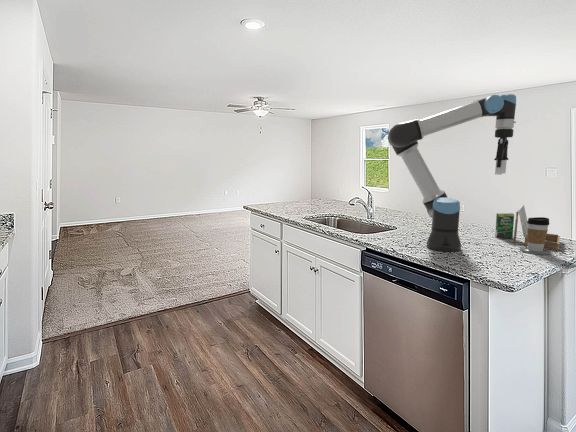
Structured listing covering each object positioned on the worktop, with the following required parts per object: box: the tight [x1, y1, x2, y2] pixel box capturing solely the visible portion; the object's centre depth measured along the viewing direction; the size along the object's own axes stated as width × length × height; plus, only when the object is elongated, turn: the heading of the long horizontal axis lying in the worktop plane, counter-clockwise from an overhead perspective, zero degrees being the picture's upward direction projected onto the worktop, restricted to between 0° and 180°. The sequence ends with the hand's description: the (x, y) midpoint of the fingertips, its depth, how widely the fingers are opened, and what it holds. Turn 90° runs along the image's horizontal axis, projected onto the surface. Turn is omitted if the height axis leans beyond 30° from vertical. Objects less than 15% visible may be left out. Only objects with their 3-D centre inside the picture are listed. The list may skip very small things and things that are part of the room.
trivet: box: [519, 246, 552, 256], centre depth 169 cm, size 12×12×1 cm
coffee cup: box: [527, 216, 550, 252], centre depth 168 cm, size 8×8×15 cm
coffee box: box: [494, 212, 515, 239], centre depth 197 cm, size 8×3×13 cm, turn 77°
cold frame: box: [512, 204, 561, 251], centre depth 184 cm, size 22×19×18 cm
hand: (500, 174), depth 178 cm, fingers open, 13 cm apart
